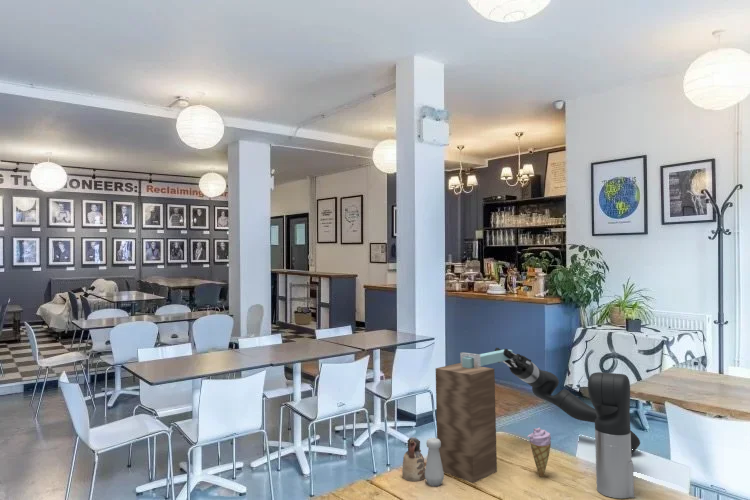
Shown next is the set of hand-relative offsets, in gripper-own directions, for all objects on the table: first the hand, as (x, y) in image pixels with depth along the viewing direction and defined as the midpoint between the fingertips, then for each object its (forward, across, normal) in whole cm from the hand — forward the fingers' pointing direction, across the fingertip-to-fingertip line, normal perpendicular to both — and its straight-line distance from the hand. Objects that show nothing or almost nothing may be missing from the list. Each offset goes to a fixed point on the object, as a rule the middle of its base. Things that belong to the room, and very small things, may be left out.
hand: (500, 350), depth 177 cm
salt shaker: (+12, +1, -48) cm, 49 cm away
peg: (+5, 0, -6) cm, 8 cm away
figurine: (+13, +8, -48) cm, 51 cm away
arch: (+13, 0, -11) cm, 17 cm away
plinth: (0, 0, -40) cm, 40 cm away
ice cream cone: (-11, -18, -34) cm, 40 cm away
